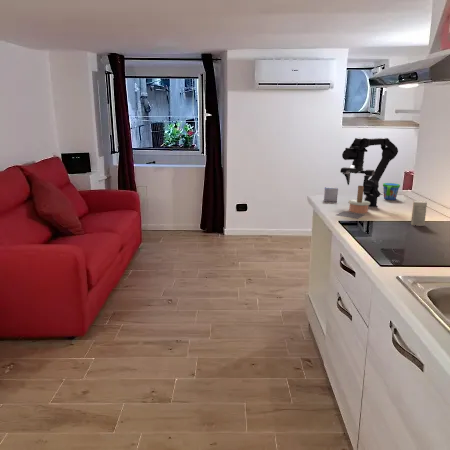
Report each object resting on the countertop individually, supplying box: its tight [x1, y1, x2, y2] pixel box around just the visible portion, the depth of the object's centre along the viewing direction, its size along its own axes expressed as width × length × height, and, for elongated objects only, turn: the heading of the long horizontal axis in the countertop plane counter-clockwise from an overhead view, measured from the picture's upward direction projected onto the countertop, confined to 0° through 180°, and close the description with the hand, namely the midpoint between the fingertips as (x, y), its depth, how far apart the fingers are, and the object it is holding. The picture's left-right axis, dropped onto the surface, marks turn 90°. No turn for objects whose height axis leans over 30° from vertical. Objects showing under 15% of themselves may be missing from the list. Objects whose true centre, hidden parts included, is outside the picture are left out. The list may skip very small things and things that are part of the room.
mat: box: [335, 210, 366, 220], centre depth 241 cm, size 13×13×1 cm
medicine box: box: [323, 186, 339, 202], centre depth 279 cm, size 8×4×9 cm, turn 84°
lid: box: [348, 185, 370, 206], centre depth 249 cm, size 12×12×10 cm
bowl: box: [348, 204, 369, 214], centre depth 251 cm, size 10×10×5 cm
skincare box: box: [410, 200, 428, 227], centre depth 224 cm, size 6×4×12 cm
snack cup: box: [382, 182, 401, 201], centre depth 290 cm, size 16×10×10 cm
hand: (355, 185), depth 259 cm, fingers open, 9 cm apart
